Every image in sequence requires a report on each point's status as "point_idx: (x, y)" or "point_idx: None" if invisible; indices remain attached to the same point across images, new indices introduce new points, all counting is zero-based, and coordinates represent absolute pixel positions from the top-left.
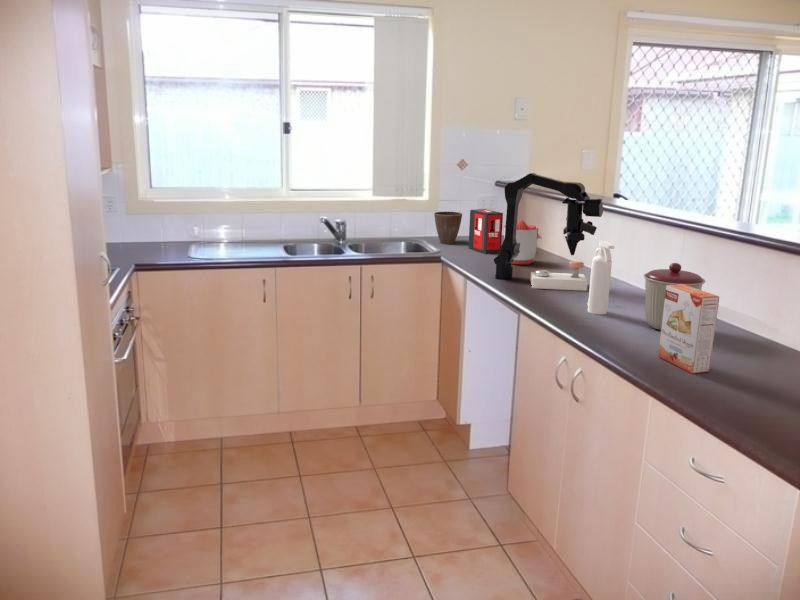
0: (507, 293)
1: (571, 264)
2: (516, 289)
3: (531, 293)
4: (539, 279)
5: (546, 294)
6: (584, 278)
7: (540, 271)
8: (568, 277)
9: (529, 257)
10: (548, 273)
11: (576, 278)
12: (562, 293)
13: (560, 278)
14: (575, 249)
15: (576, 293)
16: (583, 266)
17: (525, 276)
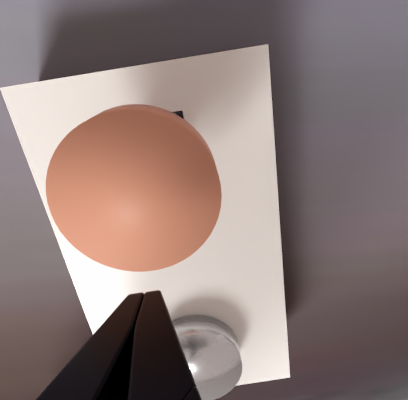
0: (394, 395)
1: (202, 239)
2: (315, 380)
3: (382, 323)
4: (286, 345)
5: (393, 265)
6: (187, 75)
7: (207, 378)
8: None
9: None
10: (215, 332)
11: (210, 141)
12: (359, 194)
13: (248, 248)
14: (183, 353)
15: (345, 116)
16: (133, 104)
17: (19, 385)
